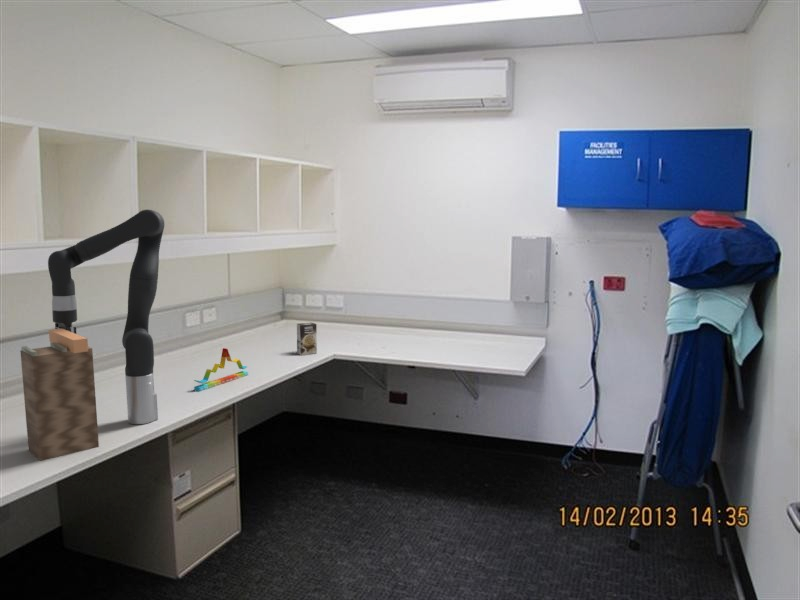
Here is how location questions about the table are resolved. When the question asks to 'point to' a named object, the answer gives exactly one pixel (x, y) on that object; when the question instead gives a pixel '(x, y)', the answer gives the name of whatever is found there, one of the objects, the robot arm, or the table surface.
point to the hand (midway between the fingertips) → (66, 354)
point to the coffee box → (306, 338)
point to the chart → (225, 379)
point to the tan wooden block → (69, 340)
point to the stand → (59, 400)
